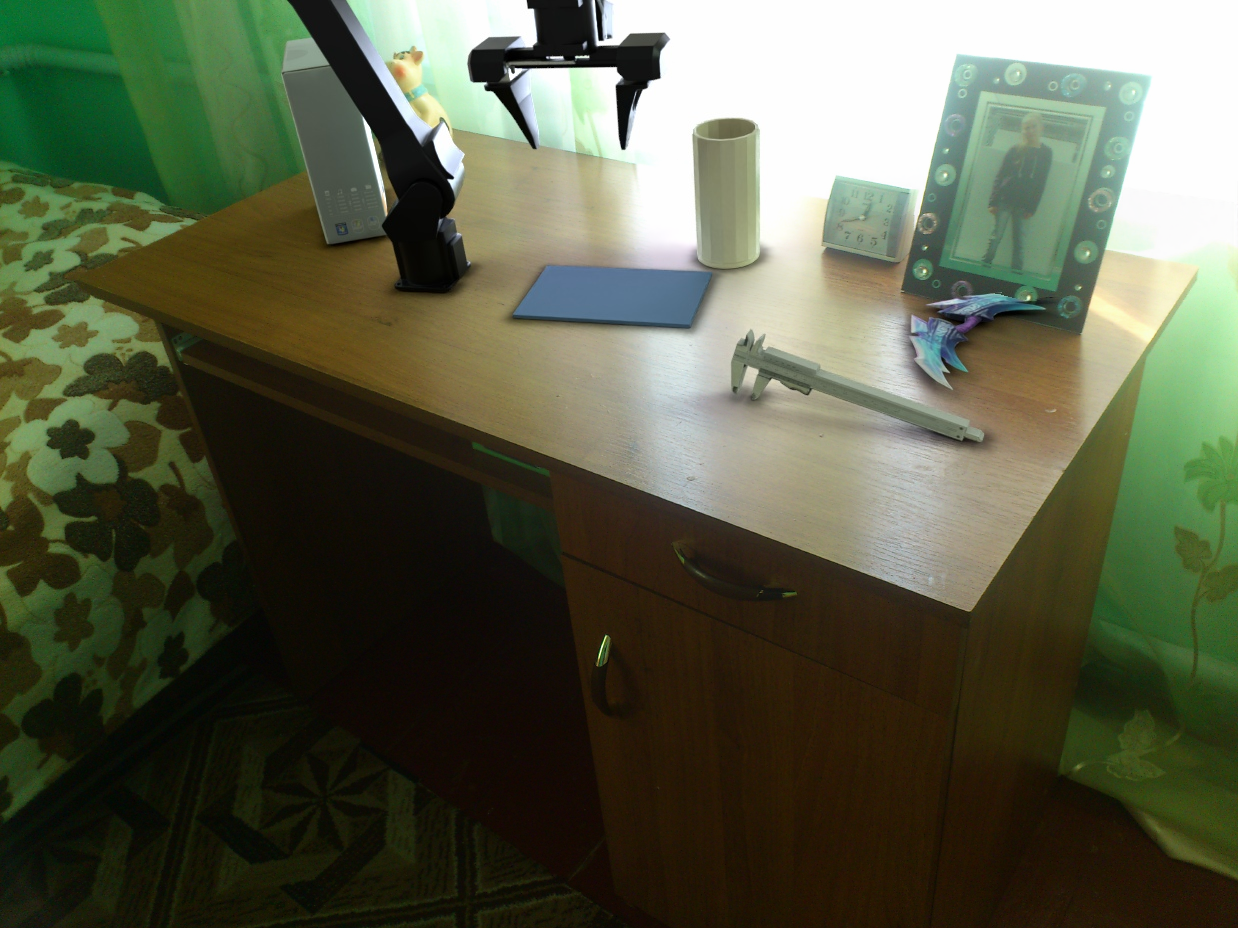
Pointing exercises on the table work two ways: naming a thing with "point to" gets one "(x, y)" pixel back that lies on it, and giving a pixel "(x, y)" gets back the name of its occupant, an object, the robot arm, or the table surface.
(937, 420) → the caliper
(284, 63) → the hard drive box
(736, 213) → the pen cup
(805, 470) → the table surface
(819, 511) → the table surface
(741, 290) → the table surface
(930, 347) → the decorative blades
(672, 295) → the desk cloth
